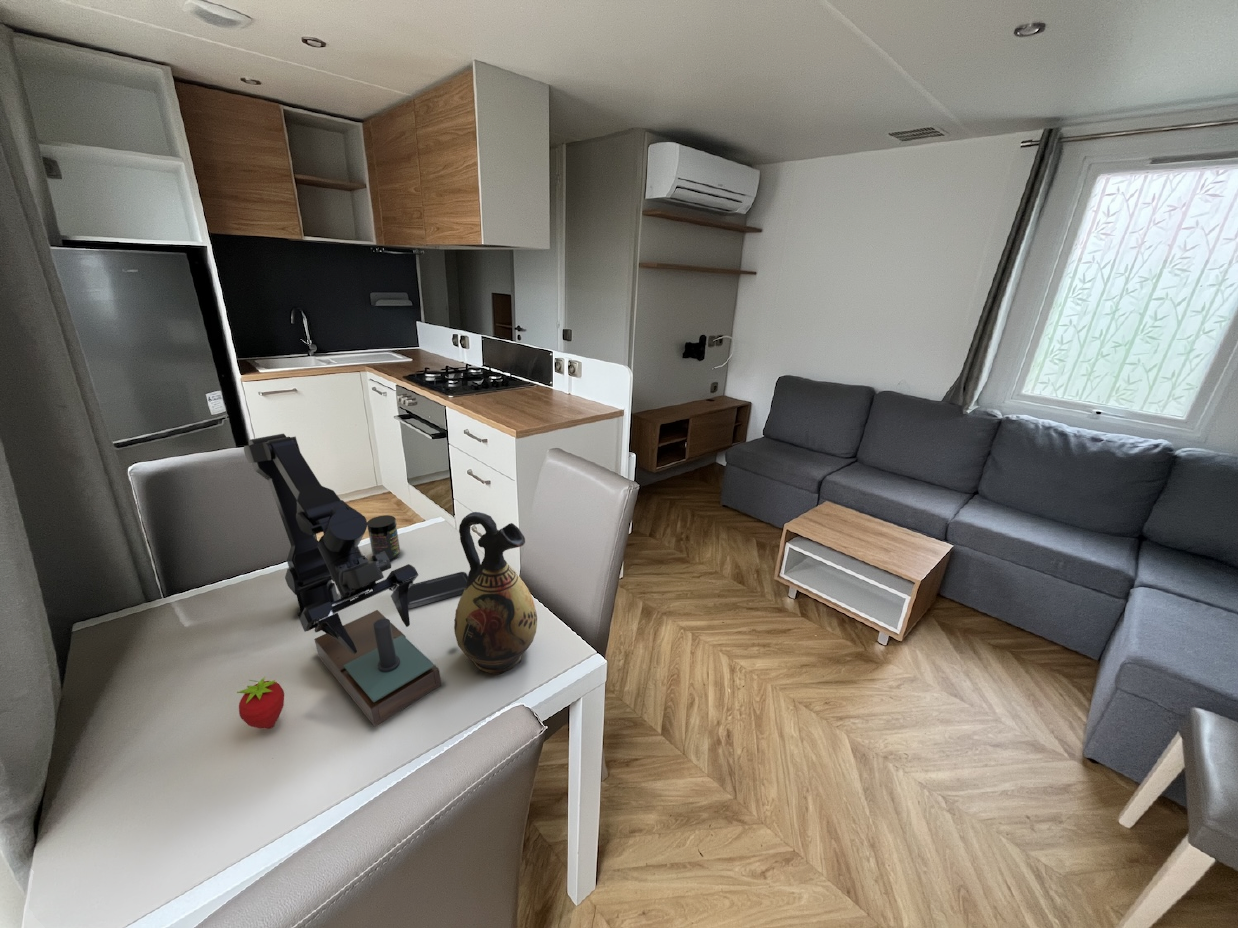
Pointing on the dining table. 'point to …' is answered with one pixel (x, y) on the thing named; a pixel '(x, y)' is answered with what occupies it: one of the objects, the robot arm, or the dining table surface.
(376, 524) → the supplement container
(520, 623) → the ceramic jug
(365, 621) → the sliding lid box
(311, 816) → the dining table surface
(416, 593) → the phone
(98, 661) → the dining table surface
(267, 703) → the strawberry
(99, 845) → the dining table surface
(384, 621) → the peg plate
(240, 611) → the dining table surface
